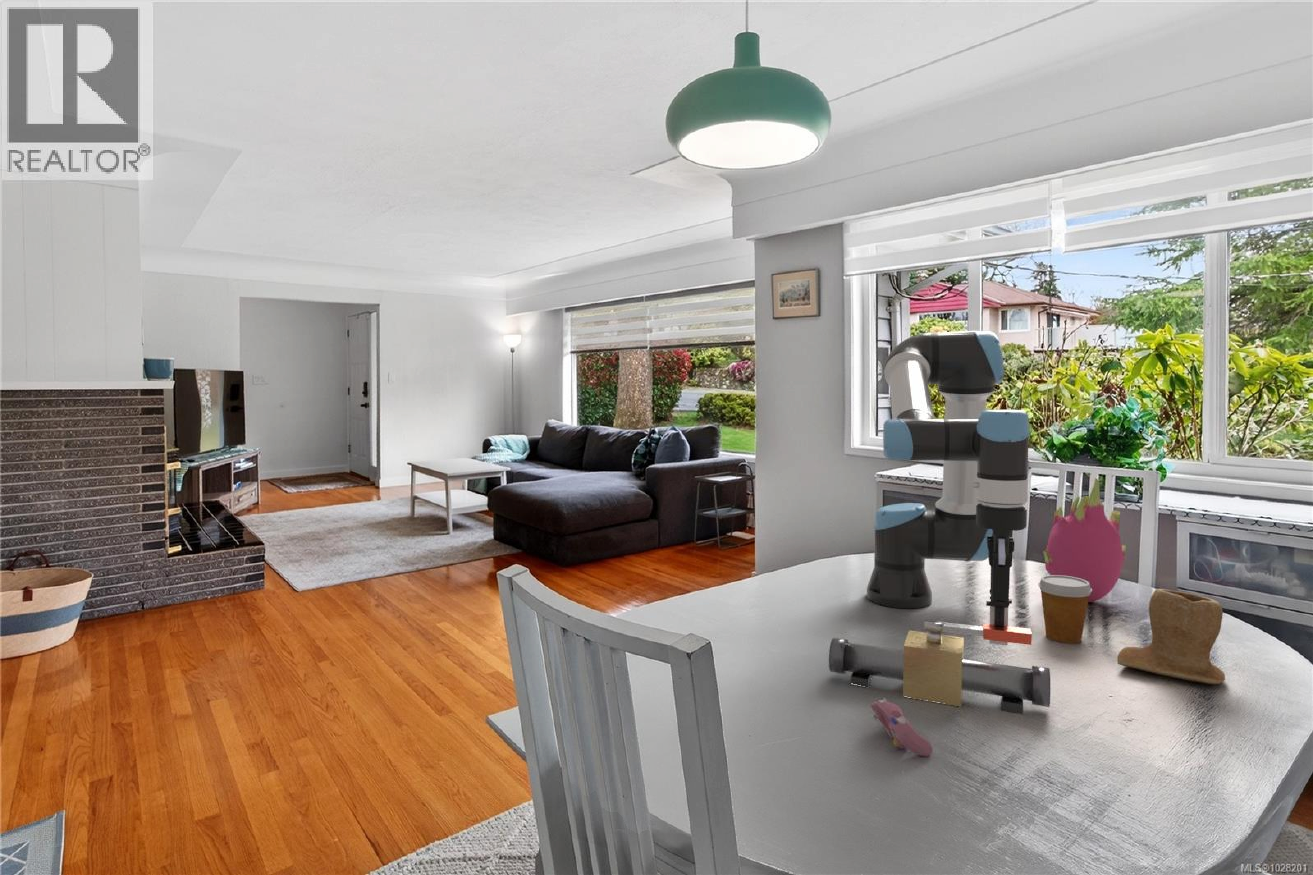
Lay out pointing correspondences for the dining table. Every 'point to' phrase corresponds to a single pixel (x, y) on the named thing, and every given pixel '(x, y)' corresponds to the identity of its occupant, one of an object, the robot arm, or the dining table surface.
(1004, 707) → the valve pipe
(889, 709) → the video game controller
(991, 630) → the lever
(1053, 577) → the disposable coffee cup
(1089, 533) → the pink dragon fruit
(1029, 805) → the dining table surface
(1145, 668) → the tan flared piece
